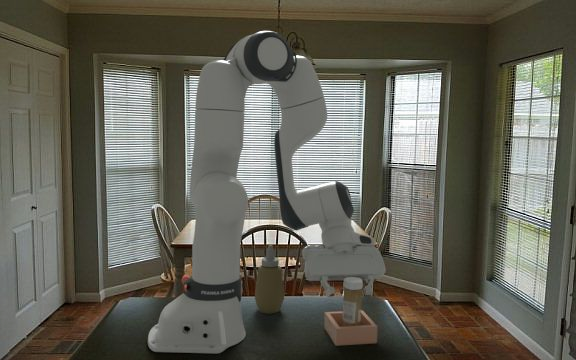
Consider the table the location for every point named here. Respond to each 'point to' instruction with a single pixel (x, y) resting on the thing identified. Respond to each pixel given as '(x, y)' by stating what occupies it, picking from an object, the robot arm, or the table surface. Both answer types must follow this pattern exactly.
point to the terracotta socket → (350, 329)
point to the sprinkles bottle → (352, 301)
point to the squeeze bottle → (269, 284)
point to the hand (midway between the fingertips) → (350, 294)
